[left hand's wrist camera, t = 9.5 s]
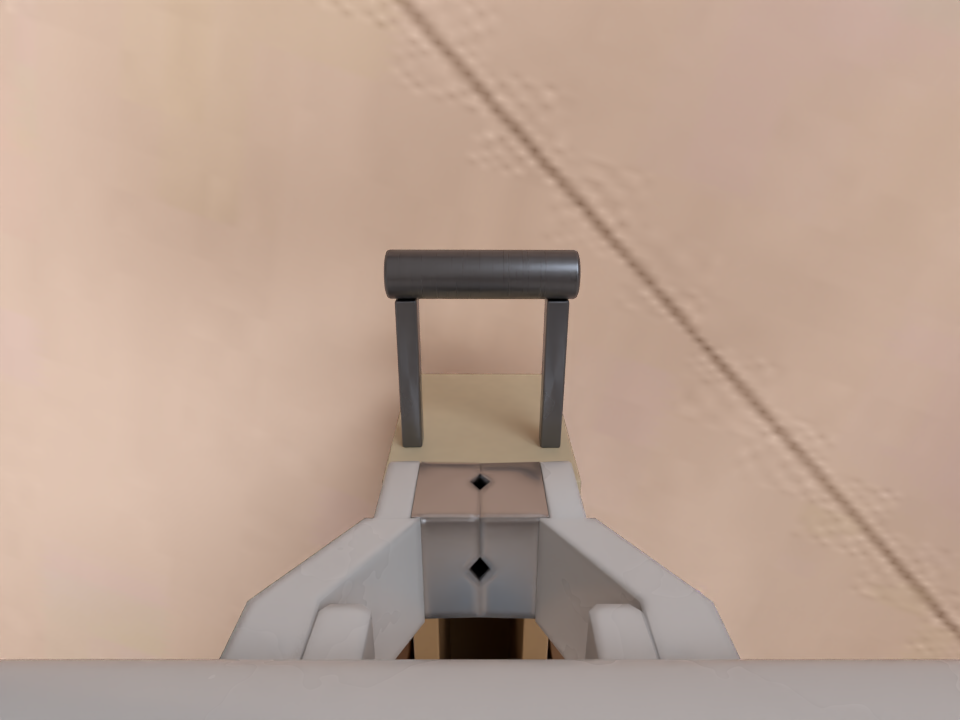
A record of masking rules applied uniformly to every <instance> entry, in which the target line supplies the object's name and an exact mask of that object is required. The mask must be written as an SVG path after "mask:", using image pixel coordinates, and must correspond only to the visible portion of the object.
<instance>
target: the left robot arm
mask: <svg viewBox="0 0 960 720" xmlns="http://www.w3.org/2000/svg"><path fill="white" fill-rule="evenodd" d="M473 617H486V618H522V619H535V622H536V623H537V624H538V625H539V627H540V628H541V629H542V631H543V632H544V633H545V634H546V636H547V637H548V638H549V639H550V641H551V642H552V643H553V645H554V646H555V647H556V648H557V650H558V651H559V652H560V653H561V655H562V656H563V657H564V658H565V659H396V658H397V656H398V655H399V654H400V653H401V651H402V650H403V649H404V648H405V646H406V645H407V644H408V643H409V641H410V640H411V639H412V637H413V636H414V635H415V634H416V632H417V631H418V630H419V629H420V627H421V626H422V625H423V624H424V622H425V619H437V618H473ZM0 720H960V659H740V657H739V655H738V653H737V651H736V649H735V647H734V644H733V642H732V640H731V638H730V636H729V634H728V632H727V630H726V628H725V626H724V624H723V622H722V619H721V617H720V615H719V613H718V611H717V609H716V607H715V605H714V603H713V602H712V601H711V600H710V599H708V598H707V597H705V596H704V595H703V594H701V593H700V592H698V591H697V590H695V589H694V588H693V587H691V586H690V585H688V584H687V583H686V582H684V581H683V580H681V579H680V578H679V577H677V576H676V575H674V574H673V573H672V572H670V571H669V570H667V569H666V568H665V567H663V566H662V565H660V564H659V563H658V562H656V561H655V560H653V559H652V558H650V557H649V556H648V555H646V554H645V553H643V552H642V551H641V550H639V549H638V548H636V547H635V546H634V545H632V544H631V543H629V542H628V541H627V540H625V539H624V538H622V537H621V536H620V535H618V534H617V533H615V532H614V531H613V530H611V529H610V528H608V527H607V526H605V525H604V524H603V523H601V522H600V521H598V520H597V519H596V518H586V514H585V511H584V507H583V503H582V500H581V496H580V492H579V489H578V485H577V481H576V478H575V474H574V470H573V467H572V463H571V462H569V461H550V462H509V463H477V462H425V461H422V462H421V463H420V462H419V461H391V462H390V463H389V464H388V466H387V470H386V473H385V477H384V481H383V485H382V488H381V492H380V496H379V499H378V503H377V507H376V511H375V514H374V518H364V519H363V520H362V521H360V522H359V523H357V524H356V525H355V526H353V527H352V528H350V529H349V530H347V531H346V532H345V533H343V534H342V535H340V536H339V537H338V538H336V539H335V540H333V541H332V542H330V543H329V544H328V545H326V546H325V547H323V548H322V549H321V550H319V551H318V552H316V553H315V554H314V555H312V556H311V557H309V558H308V559H306V560H305V561H304V562H302V563H301V564H299V565H298V566H297V567H295V568H294V569H292V570H291V571H290V572H288V573H287V574H285V575H284V576H282V577H281V578H280V579H278V580H277V581H275V582H274V583H273V584H271V585H270V586H268V587H267V588H265V589H264V590H263V591H261V592H260V593H258V594H257V595H256V596H254V597H253V598H251V599H250V600H249V601H247V603H246V606H245V608H244V610H243V612H242V614H241V616H240V618H239V620H238V622H237V624H236V626H235V628H234V630H233V632H232V634H231V636H230V638H229V641H228V643H227V645H226V647H225V649H224V651H223V653H222V655H221V657H220V659H0Z"/></svg>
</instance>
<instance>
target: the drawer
mask: <svg viewBox="0 0 960 720" xmlns="http://www.w3.org/2000/svg"><path fill="white" fill-rule="evenodd" d="M384 284H385V291H386V294H387V297H388V298H391V299H396V301H395V315H396V334H397V353H398V372H399V391H400V409H401V410H400V414H399V418H398V422H397V426H396V429H395V433H394V437H393V441H392V445H391V449H390V453H389V457H388V461H387V465H386V468H385V472H384V476H383V480H382V485H383V481H384V477H385V473H386V470H387V466H388V464H389V463H390V462H391V461H419V462H420V463H421V462H422V461H425V462H477V463H509V462H550V461H569V462H571V463H572V467H573V470H574V474H575V478H576V481H577V485H578V489H579V492H580V489H581V479H580V476H579V472H578V468H577V465H576V461H575V457H574V454H573V450H572V447H571V443H570V439H569V436H568V432H567V428H566V425H565V421H564V417H563V414H562V412H563V396H564V380H565V363H566V347H567V331H568V315H569V301H568V299H574V298H576V297H577V295H578V292H579V286H580V258H579V255H578V252H577V251H575V250H388V251H387V252H386V255H385V260H384ZM419 299H545V312H544V334H543V356H542V374H421V348H420V321H419ZM413 637H414V657H415V659H547V652H548V637H547V636H546V634H545V633H544V632H543V631H542V629H541V628H540V627H539V625H538V624H537V623H536V622H535V619H522V618H486V617H473V618H437V619H425V622H424V624H423V625H422V626H421V627H420V629H419V630H418V631H417V632H416V634H415V635H414V636H413Z"/></svg>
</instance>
